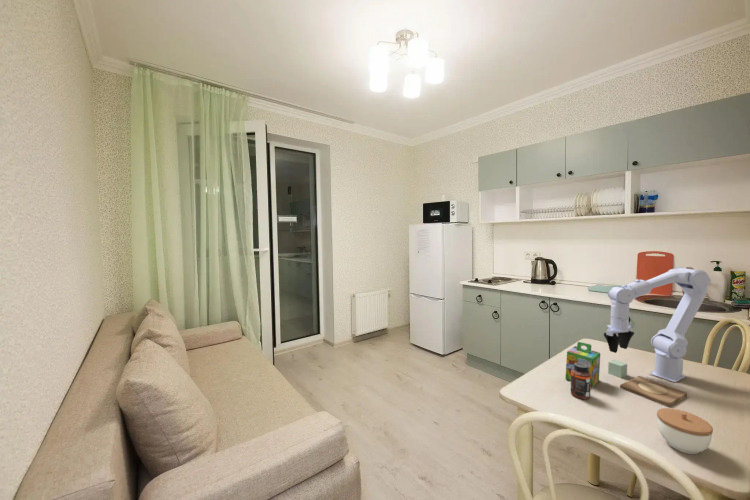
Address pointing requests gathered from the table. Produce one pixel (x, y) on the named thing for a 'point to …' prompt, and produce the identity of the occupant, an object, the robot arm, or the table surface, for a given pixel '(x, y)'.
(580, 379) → the supplement bottle
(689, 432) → the lidded jar
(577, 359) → the chalk box
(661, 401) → the rest board
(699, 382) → the table surface
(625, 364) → the block
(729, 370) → the table surface
